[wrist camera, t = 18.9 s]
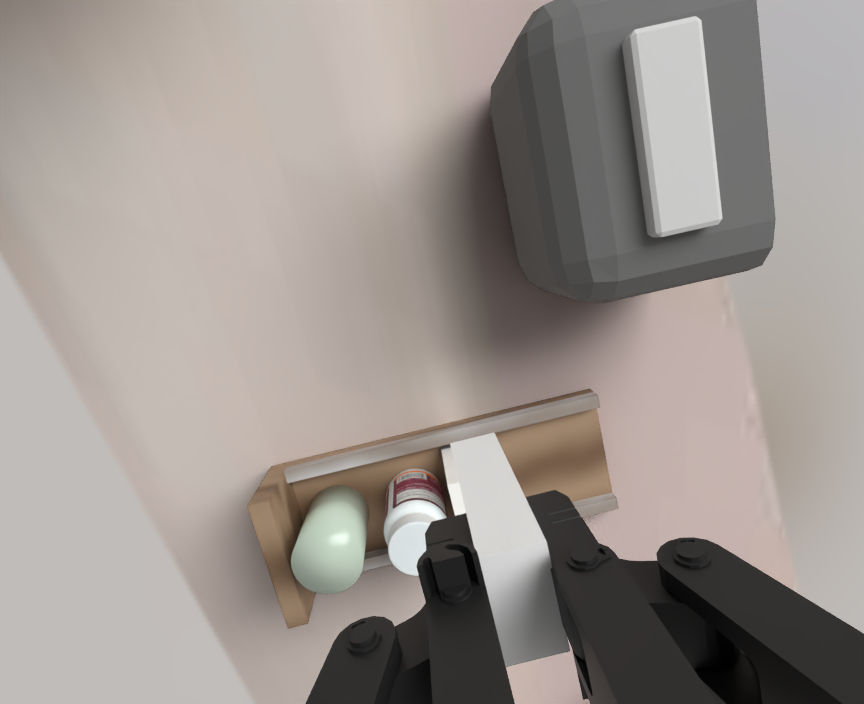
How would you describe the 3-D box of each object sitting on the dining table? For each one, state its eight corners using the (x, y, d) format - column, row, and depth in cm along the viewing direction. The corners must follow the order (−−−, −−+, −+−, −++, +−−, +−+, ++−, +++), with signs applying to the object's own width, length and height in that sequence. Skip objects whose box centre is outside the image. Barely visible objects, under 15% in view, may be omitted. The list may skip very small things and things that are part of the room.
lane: (271, 466, 44) (247, 506, 37) (589, 388, 44) (623, 414, 38) (305, 572, 46) (287, 628, 39) (609, 497, 46) (645, 541, 39)
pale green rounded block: (301, 493, 44) (282, 538, 37) (360, 478, 44) (352, 521, 37) (318, 547, 45) (302, 601, 38) (376, 532, 45) (371, 584, 38)
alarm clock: (655, 264, 43) (794, 274, 27) (517, 295, 43) (579, 322, 27) (626, 45, 40) (766, -83, 24) (476, 78, 39) (521, -28, 24)
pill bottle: (423, 530, 45) (427, 593, 37) (375, 502, 44) (368, 560, 36) (455, 485, 44) (466, 539, 36) (406, 456, 44) (407, 504, 35)
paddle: (440, 447, 43) (447, 485, 36) (488, 435, 43) (504, 471, 36) (460, 526, 45) (470, 577, 38) (507, 515, 45) (525, 564, 38)
